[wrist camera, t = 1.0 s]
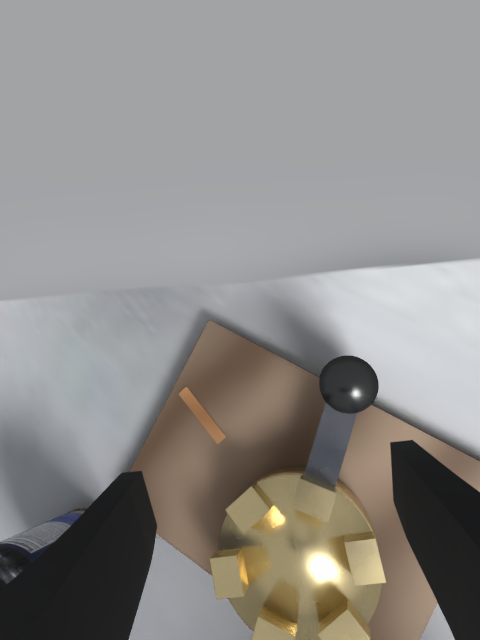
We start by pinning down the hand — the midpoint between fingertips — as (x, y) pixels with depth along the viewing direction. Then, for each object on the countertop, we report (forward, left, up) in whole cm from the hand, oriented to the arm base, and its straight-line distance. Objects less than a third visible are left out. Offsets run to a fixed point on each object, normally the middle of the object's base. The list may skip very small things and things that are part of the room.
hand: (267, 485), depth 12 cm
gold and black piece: (-2, +2, -12) cm, 12 cm away
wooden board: (0, +3, -13) cm, 14 cm away
